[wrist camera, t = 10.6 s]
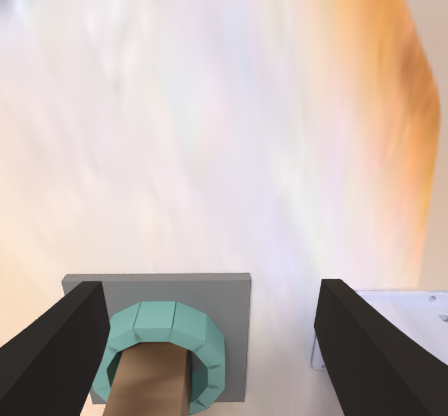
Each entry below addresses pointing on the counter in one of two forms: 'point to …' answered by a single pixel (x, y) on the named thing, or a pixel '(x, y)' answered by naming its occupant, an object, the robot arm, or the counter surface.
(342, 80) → the counter surface
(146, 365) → the walnut peg
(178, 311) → the collar
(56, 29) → the counter surface
